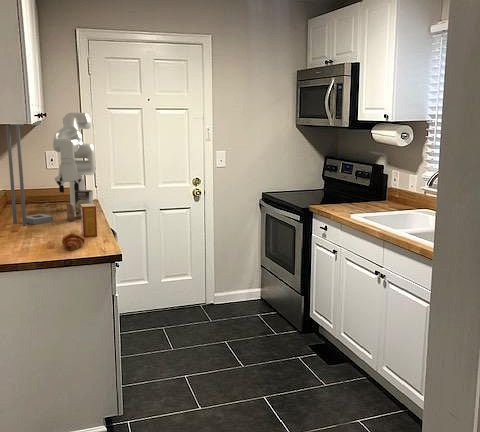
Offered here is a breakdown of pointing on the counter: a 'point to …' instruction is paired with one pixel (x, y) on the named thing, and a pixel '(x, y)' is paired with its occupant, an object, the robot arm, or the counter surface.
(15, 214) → the grey two-post stand
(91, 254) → the counter surface
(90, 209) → the baking soda box
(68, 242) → the croissant
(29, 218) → the socket
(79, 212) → the coffee box
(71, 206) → the peg
